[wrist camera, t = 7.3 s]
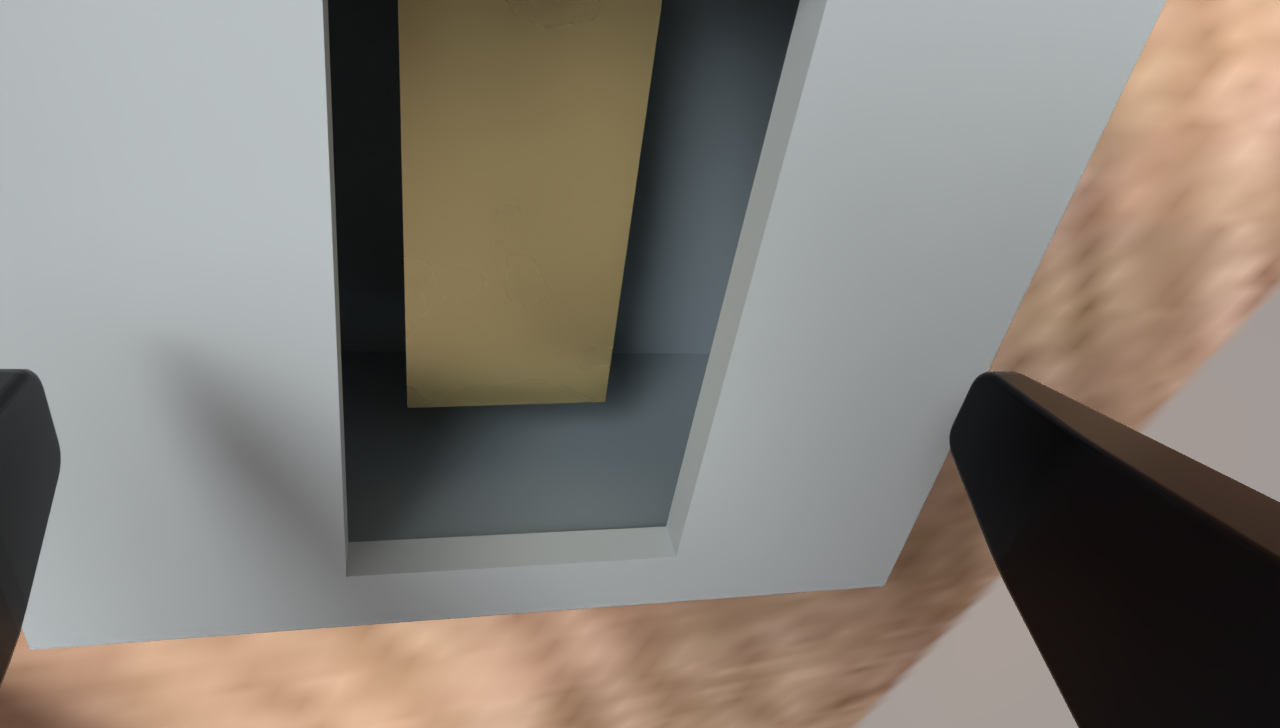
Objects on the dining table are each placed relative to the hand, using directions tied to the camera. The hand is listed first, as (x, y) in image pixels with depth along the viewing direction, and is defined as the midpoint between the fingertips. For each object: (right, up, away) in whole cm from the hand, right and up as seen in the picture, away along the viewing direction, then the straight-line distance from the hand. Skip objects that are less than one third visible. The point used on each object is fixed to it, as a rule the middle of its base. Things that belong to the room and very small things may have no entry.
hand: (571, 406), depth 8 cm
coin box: (-2, +4, +6) cm, 8 cm away
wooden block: (-2, +4, +5) cm, 7 cm away
